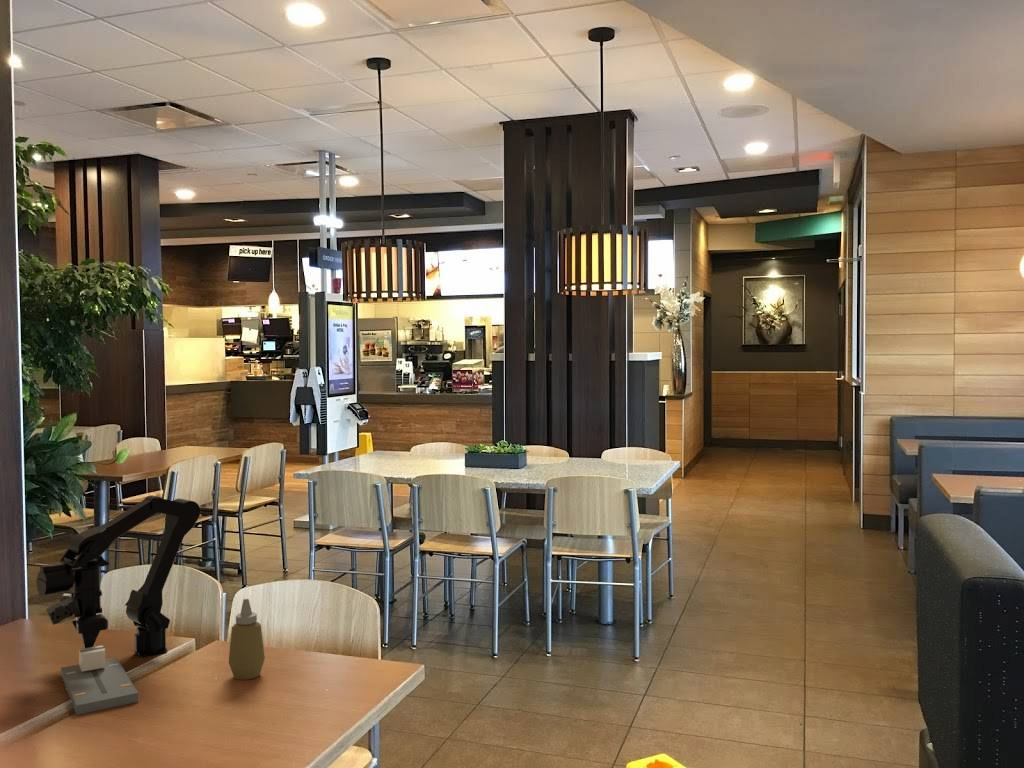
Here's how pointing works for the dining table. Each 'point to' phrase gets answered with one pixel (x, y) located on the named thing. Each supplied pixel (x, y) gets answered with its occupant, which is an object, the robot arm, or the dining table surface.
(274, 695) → the dining table surface
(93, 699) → the plate
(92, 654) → the cap
